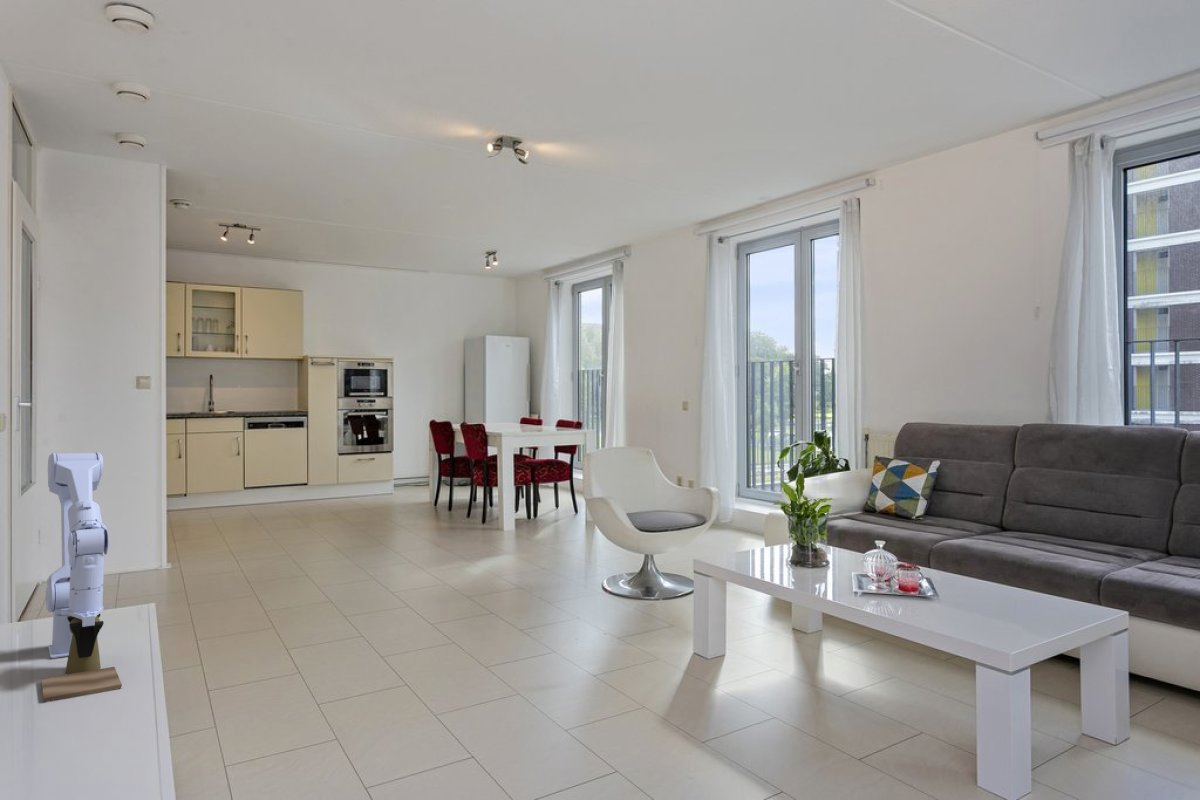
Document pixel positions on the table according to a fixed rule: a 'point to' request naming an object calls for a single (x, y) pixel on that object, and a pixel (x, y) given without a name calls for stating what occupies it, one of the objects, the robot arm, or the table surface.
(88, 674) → the light brown board
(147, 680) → the table surface
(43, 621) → the table surface
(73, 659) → the cork
